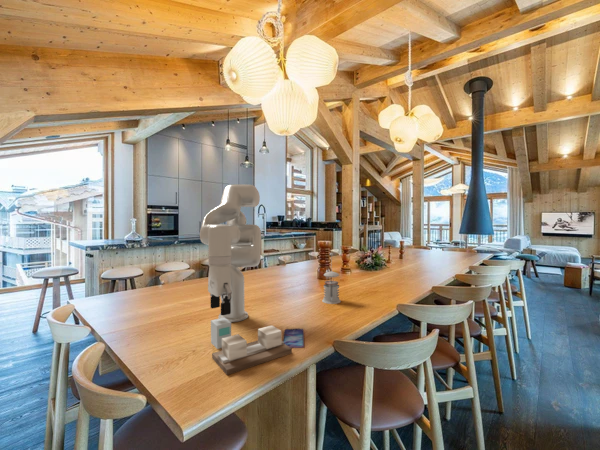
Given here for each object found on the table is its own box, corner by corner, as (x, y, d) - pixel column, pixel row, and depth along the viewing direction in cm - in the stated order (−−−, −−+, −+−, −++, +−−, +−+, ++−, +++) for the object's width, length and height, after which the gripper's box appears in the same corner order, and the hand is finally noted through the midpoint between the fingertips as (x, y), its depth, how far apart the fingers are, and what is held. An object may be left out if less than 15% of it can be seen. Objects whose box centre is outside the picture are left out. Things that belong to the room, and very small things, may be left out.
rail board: (212, 358, 92) (211, 336, 92) (272, 340, 105) (272, 321, 105) (226, 375, 82) (226, 351, 82) (291, 353, 95) (291, 332, 95)
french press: (340, 298, 156) (340, 251, 155) (341, 305, 145) (341, 254, 144) (322, 297, 157) (322, 251, 156) (321, 304, 146) (321, 254, 145)
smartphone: (282, 346, 99) (284, 329, 114) (282, 349, 99) (284, 331, 114) (303, 345, 99) (303, 328, 114) (304, 348, 99) (303, 330, 114)
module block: (211, 342, 103) (210, 320, 103) (224, 339, 106) (224, 317, 106) (217, 349, 98) (217, 325, 98) (231, 345, 101) (231, 322, 101)
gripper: (201, 259, 106) (201, 307, 106) (218, 265, 92) (218, 319, 92) (221, 257, 110) (221, 303, 110) (240, 263, 96) (241, 315, 96)
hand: (220, 310), depth 101 cm, fingers open, 9 cm apart
